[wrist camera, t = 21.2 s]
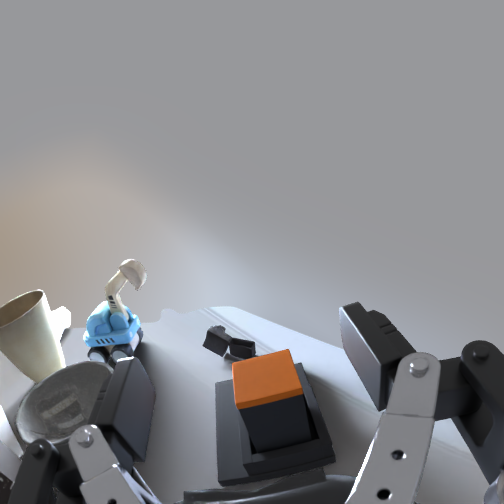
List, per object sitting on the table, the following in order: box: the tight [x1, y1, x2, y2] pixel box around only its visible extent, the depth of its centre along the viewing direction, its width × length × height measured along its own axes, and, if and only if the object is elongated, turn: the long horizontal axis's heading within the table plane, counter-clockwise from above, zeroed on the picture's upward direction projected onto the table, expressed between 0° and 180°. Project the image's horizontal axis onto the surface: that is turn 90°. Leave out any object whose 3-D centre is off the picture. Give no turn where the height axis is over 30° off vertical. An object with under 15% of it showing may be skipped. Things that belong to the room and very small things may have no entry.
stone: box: [51, 307, 71, 341], centre depth 67 cm, size 21×12×5 cm, turn 67°
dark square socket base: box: [215, 363, 336, 487], centre depth 32 cm, size 12×16×4 cm
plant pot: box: [0, 290, 65, 384], centre depth 45 cm, size 15×15×16 cm
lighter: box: [203, 325, 256, 359], centre depth 46 cm, size 8×2×5 cm
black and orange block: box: [232, 349, 312, 454], centre depth 27 cm, size 6×6×10 cm
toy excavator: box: [84, 259, 147, 363], centre depth 50 cm, size 9×17×17 cm, turn 90°
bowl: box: [15, 361, 114, 446], centre depth 32 cm, size 18×18×8 cm
